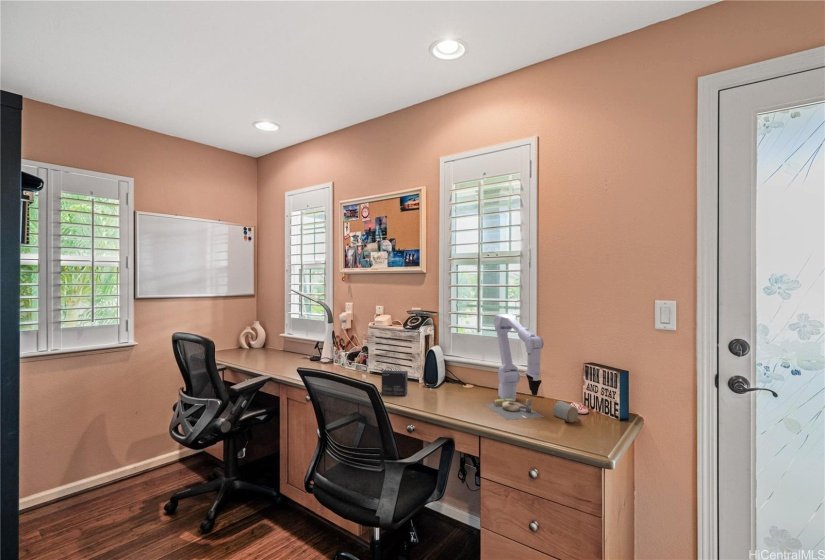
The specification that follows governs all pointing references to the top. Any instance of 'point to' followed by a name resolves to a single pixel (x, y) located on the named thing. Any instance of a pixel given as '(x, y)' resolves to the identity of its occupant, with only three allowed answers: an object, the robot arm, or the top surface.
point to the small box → (394, 383)
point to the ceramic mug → (565, 411)
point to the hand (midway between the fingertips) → (533, 392)
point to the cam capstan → (517, 406)
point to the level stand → (512, 414)
